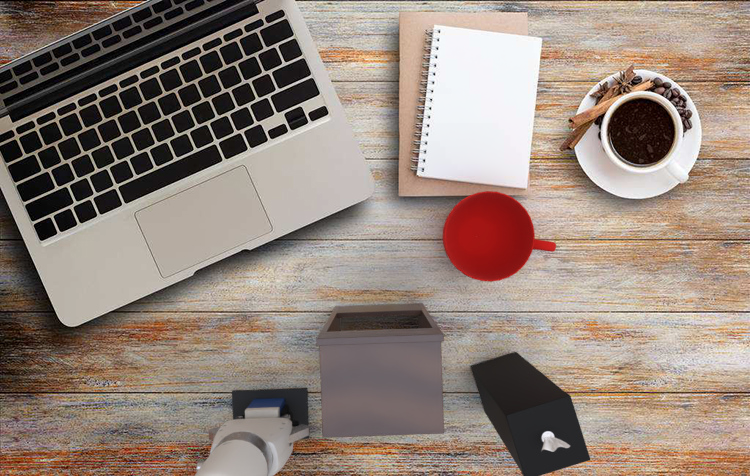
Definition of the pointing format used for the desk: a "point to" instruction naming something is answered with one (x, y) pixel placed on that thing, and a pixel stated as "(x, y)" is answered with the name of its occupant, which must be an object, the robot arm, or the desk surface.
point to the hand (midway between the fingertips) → (268, 415)
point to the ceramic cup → (490, 236)
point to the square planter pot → (381, 375)
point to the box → (265, 408)
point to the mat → (293, 397)
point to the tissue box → (530, 415)
